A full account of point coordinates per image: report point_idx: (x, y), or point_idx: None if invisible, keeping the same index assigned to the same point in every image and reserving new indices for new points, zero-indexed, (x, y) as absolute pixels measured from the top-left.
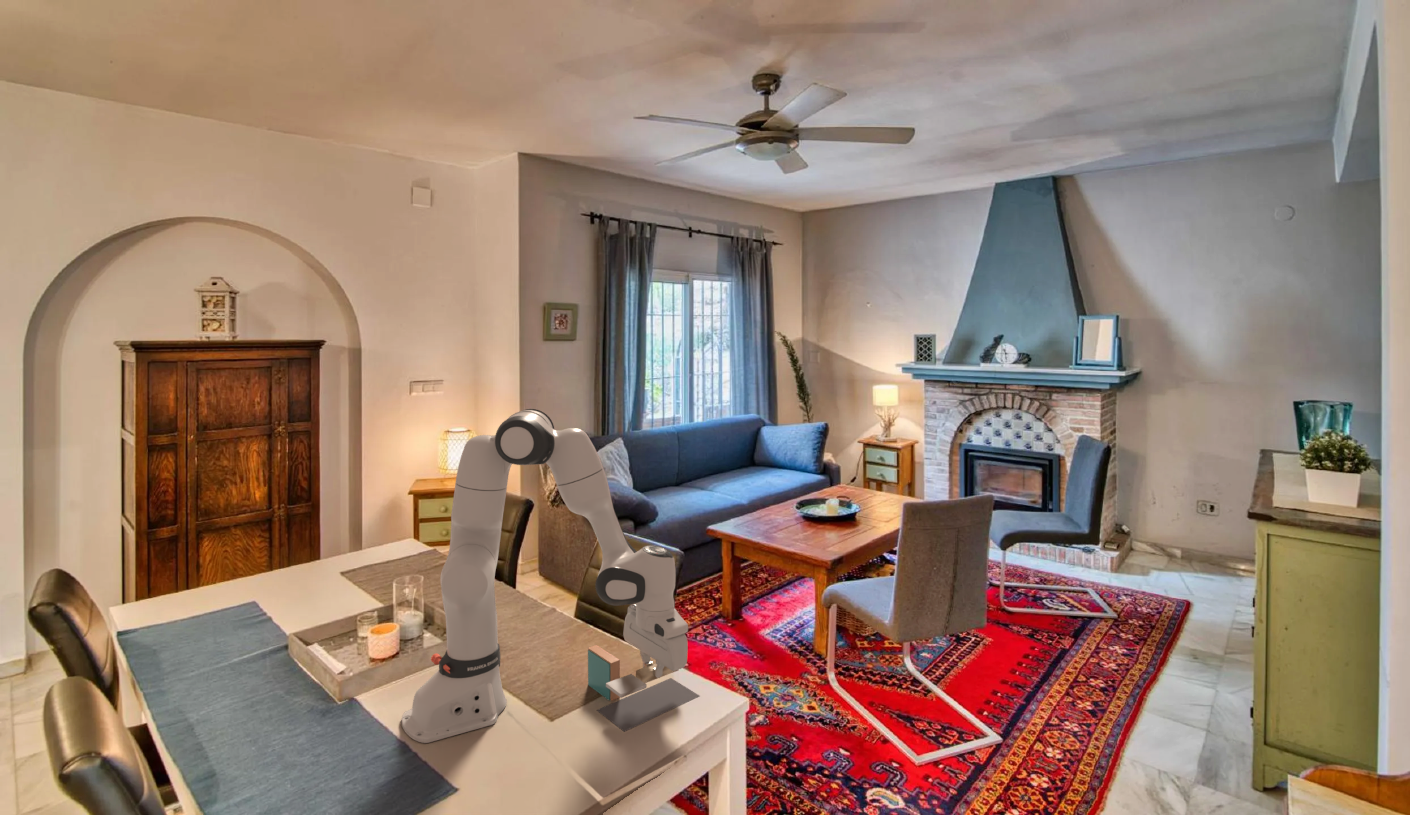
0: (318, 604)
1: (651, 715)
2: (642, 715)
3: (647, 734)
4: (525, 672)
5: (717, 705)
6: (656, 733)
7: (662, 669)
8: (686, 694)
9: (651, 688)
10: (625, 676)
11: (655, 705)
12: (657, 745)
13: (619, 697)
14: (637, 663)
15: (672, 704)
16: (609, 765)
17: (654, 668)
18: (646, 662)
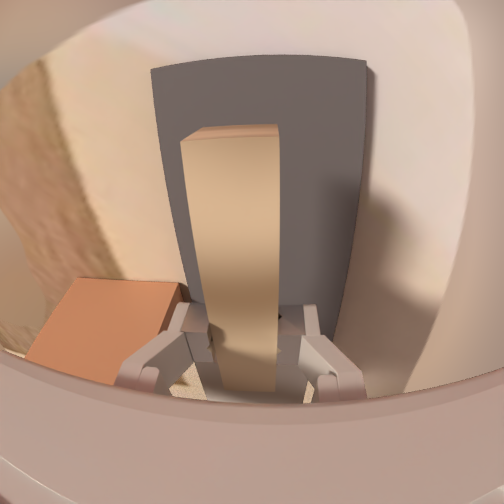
0: None
1: (331, 279)
2: (310, 297)
3: (371, 312)
4: (29, 329)
5: (436, 56)
6: (388, 297)
7: (319, 331)
8: (317, 94)
9: (179, 182)
10: (203, 378)
11: (293, 238)
12: (415, 316)
13: (176, 289)
14: (17, 130)
15: (335, 189)
16: (372, 383)
17: (282, 360)
18: (191, 352)
